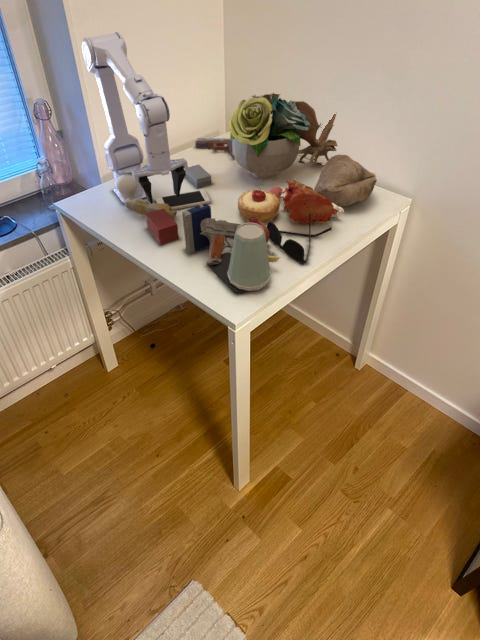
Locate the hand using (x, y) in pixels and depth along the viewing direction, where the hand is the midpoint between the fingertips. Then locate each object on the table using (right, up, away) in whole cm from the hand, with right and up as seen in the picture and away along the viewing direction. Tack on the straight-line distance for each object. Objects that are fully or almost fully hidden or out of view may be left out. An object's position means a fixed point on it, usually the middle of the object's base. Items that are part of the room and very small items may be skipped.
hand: (163, 198), depth 130 cm
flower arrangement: (+28, +15, +30) cm, 44 cm away
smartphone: (+3, +3, +17) cm, 18 cm away
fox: (+24, -18, -9) cm, 32 cm away
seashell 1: (+32, +1, +5) cm, 32 cm away
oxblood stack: (-1, -9, +5) cm, 10 cm away
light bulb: (-12, 0, +15) cm, 19 cm away
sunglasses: (+37, -12, +2) cm, 39 cm away
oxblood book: (-1, -7, +3) cm, 7 cm away
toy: (+29, -14, -1) cm, 32 cm away
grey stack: (+7, +13, +27) cm, 31 cm away
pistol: (+19, -18, -3) cm, 26 cm away
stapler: (+45, +1, +9) cm, 46 cm away
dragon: (+43, +19, +32) cm, 57 cm away
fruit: (+24, -14, -1) cm, 28 cm away
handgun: (+14, +24, +36) cm, 46 cm away
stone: (+15, -8, +5) cm, 18 cm away
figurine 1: (-6, -2, +11) cm, 12 cm away
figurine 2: (+31, 0, +14) cm, 34 cm away
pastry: (+26, -2, +12) cm, 28 cm away
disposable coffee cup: (+23, -13, -22) cm, 34 cm away
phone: (+18, -21, -8) cm, 29 cm away
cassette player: (+9, -13, 0) cm, 16 cm away
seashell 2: (+51, +4, +17) cm, 54 cm away
